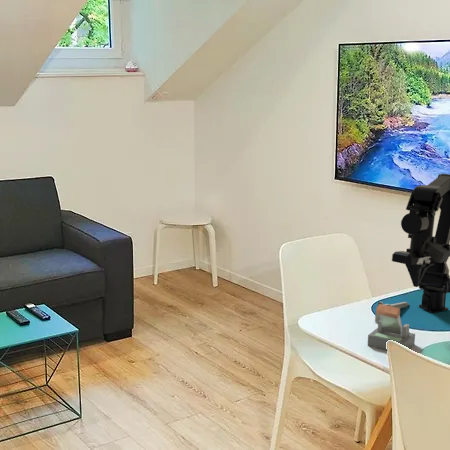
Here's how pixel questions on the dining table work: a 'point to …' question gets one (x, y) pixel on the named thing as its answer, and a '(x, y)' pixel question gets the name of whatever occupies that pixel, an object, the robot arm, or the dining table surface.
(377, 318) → the caliper
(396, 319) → the toggle lever
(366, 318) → the dining table surface
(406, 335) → the breaker housing
